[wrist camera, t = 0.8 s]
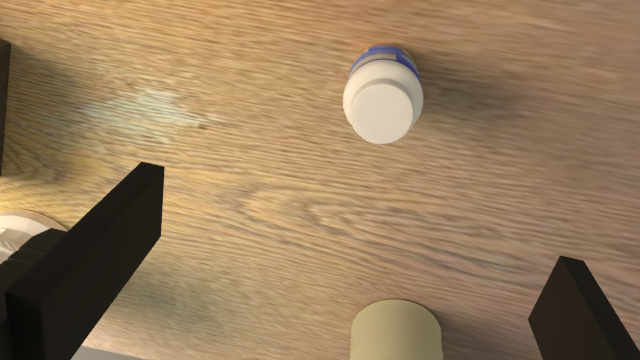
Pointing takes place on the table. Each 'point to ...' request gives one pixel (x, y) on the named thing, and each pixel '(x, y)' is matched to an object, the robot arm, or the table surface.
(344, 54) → the table surface
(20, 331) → the robot arm
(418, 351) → the can
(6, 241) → the decorative container
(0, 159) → the bin
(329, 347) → the table surface
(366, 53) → the pill bottle
